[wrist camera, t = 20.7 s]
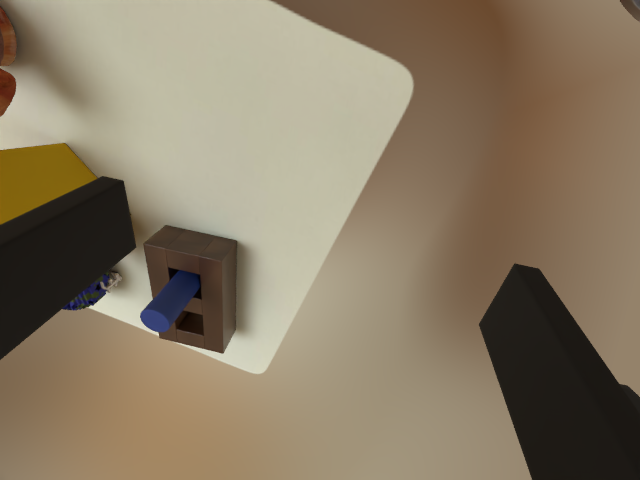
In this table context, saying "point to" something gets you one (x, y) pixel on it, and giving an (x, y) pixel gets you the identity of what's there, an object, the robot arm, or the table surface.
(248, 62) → the table surface
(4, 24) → the mug
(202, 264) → the holder
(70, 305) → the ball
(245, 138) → the table surface
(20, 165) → the alarm clock
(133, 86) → the table surface
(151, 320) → the blue long cylinder
